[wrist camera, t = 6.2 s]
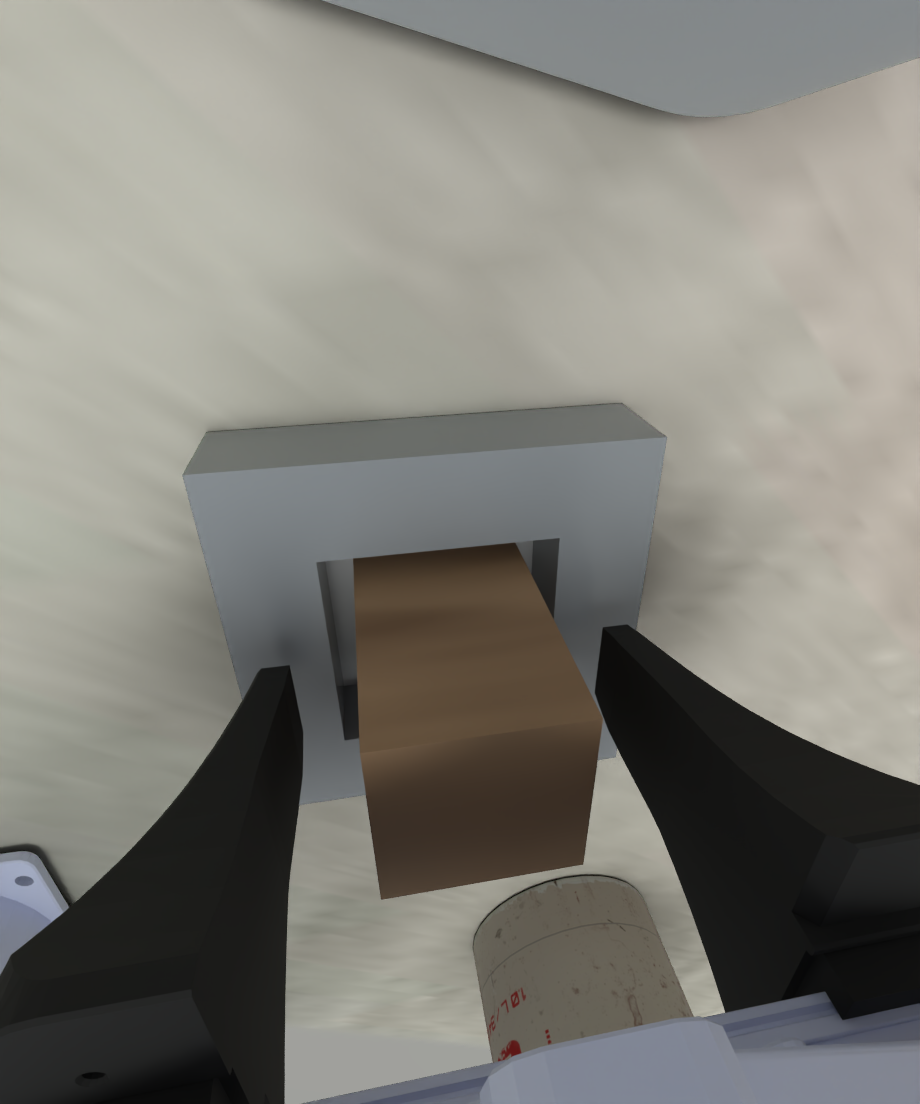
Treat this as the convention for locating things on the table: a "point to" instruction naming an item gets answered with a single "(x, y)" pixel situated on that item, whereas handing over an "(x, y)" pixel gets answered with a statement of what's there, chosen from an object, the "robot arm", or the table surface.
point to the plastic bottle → (677, 44)
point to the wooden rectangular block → (468, 721)
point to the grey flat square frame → (415, 538)
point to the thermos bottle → (572, 965)
